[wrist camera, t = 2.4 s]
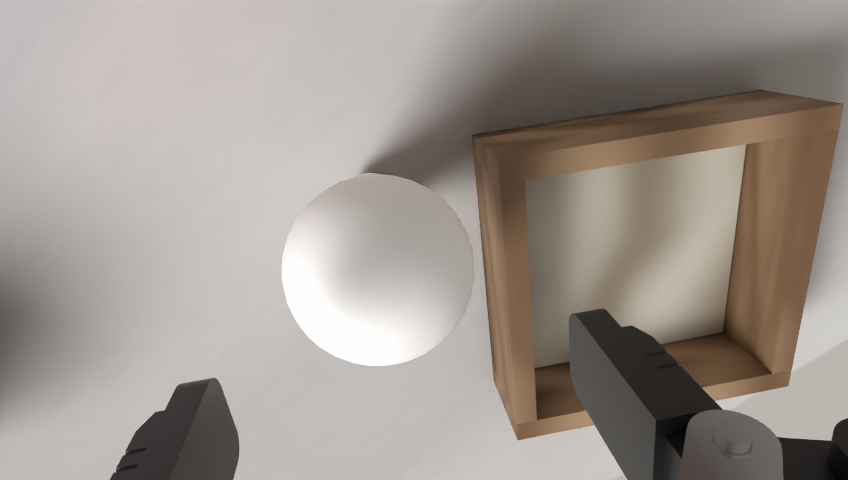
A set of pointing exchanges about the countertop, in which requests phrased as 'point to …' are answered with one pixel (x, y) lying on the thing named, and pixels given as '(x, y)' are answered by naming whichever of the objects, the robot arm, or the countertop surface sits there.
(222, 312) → the countertop surface
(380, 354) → the lightbulb
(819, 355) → the countertop surface
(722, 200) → the parts box
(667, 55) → the countertop surface
